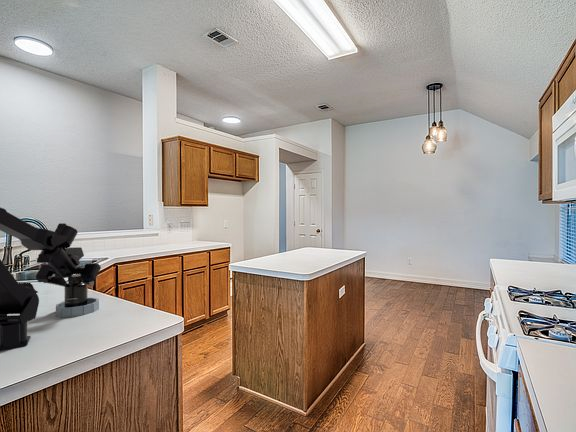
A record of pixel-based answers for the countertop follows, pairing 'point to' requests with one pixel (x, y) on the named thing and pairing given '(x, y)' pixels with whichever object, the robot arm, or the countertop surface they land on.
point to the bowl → (77, 308)
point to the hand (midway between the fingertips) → (79, 285)
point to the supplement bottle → (76, 292)
